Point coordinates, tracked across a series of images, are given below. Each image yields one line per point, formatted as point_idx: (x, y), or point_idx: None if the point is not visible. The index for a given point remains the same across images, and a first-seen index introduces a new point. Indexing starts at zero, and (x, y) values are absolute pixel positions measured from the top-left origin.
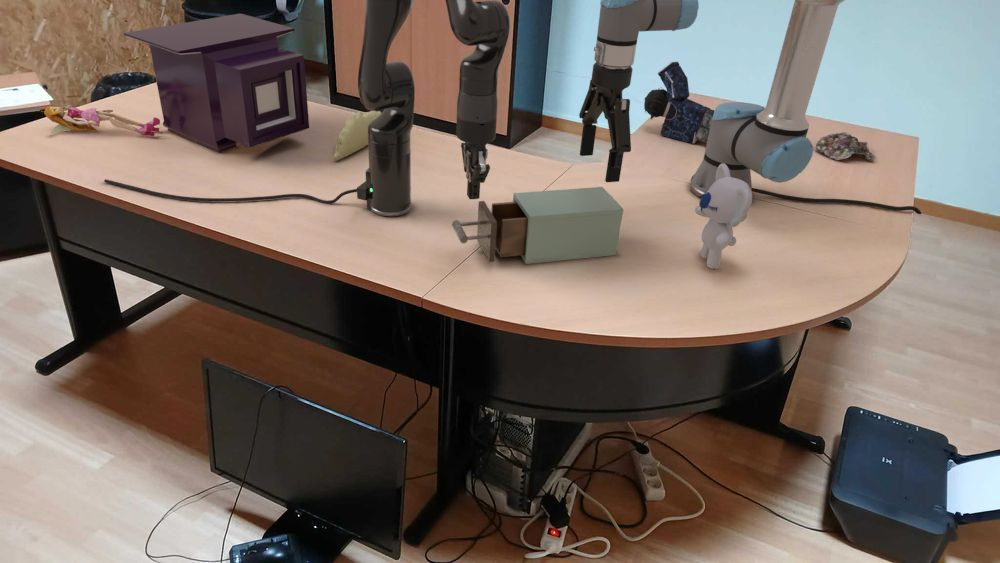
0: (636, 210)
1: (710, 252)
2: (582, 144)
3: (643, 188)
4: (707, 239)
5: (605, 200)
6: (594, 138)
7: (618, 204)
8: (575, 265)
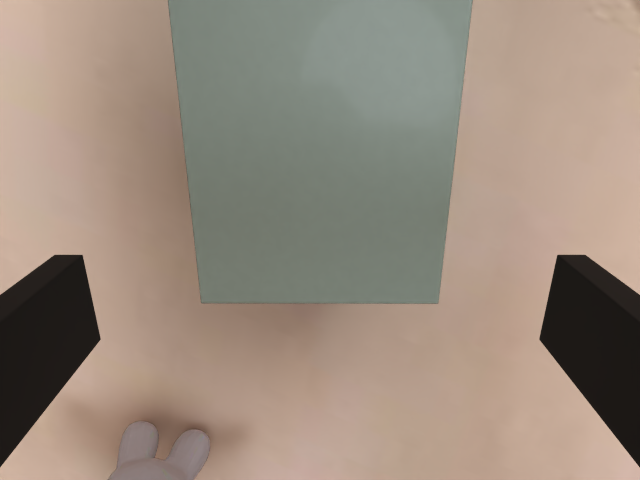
0: (490, 388)
1: (133, 453)
2: (616, 304)
3: (609, 457)
4: (119, 476)
5: (293, 261)
6: (619, 437)
7: (247, 300)
8: None
